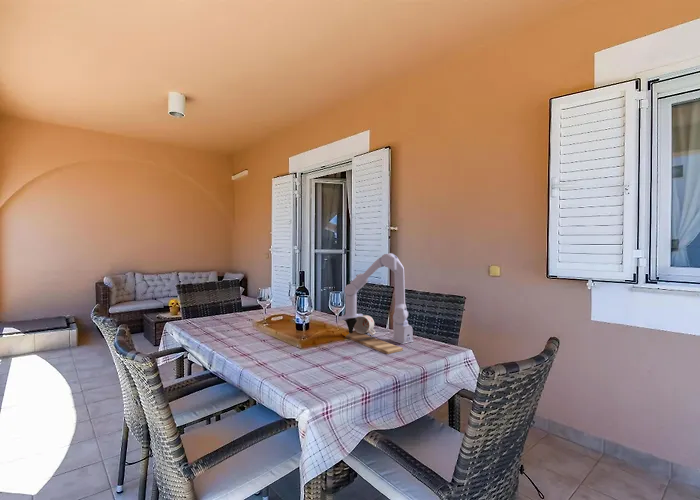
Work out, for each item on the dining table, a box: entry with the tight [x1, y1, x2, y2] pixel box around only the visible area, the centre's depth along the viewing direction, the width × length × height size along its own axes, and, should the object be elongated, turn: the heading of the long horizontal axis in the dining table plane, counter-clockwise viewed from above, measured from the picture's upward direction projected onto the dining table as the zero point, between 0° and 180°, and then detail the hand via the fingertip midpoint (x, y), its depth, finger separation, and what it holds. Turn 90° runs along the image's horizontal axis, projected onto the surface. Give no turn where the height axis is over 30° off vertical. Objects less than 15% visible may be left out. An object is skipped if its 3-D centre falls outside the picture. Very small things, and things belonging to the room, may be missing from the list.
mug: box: [353, 314, 377, 336], centre depth 195 cm, size 12×9×11 cm
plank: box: [345, 329, 374, 344], centre depth 187 cm, size 16×9×2 cm, turn 36°
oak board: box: [359, 336, 404, 355], centre depth 172 cm, size 20×9×2 cm, turn 36°
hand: (350, 332), depth 191 cm, fingers closed
